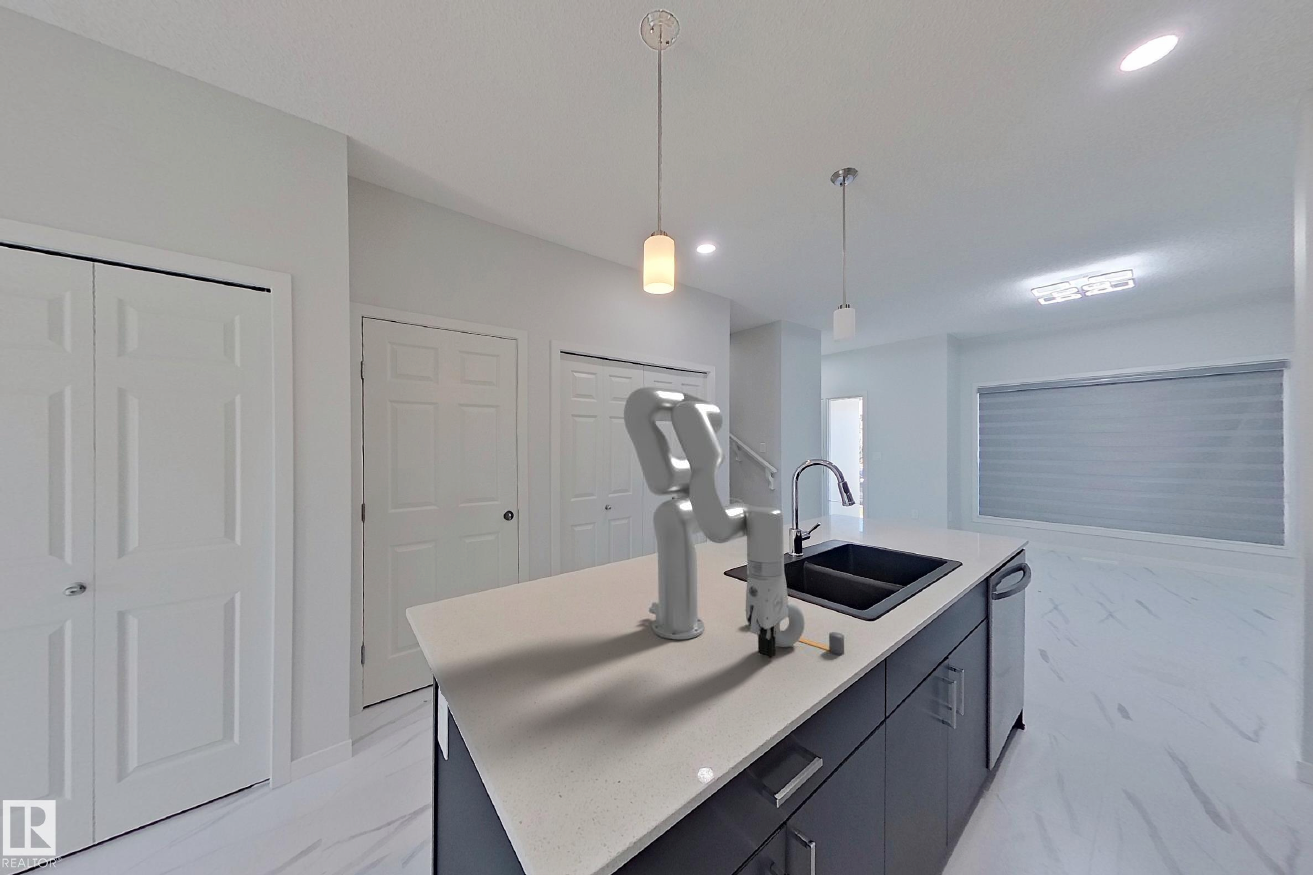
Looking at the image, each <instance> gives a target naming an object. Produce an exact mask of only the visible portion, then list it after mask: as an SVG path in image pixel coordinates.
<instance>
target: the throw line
mask: <svg viewBox="0 0 1313 875" xmlns="http://www.w3.org/2000/svg"><path fill="white" fill-rule="evenodd" d="M748 626H749V627H750V628H751V624H749V623H748ZM828 637H829V638H828V643H829V644H828V645H824V644H822V643H818V642H816V641H812V640H809V639H806V638H803V637H800V638H799V640H798V641H797V642H800V643H804V644H807V645H811V646H813V647H816V648H819V649H822V650H825V651H829V653H832V654H833V655H836V656H841V655H842V656H843V655H844V654H845V636H844V634H843V633H841V632H837V631H836V632H835V631H832V632H829V633H828Z"/></svg>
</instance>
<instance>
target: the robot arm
mask: <svg viewBox="0 0 1313 875" xmlns="http://www.w3.org/2000/svg"><path fill="white" fill-rule="evenodd" d="M623 420H624V421H623V422H624V425H625V429H626V432H627V433H628V435H629V438H630V440H631V442H632V444H633V446H634V447H633V448H634V449H635V452H636V457H637V459H638V462H639V464H640V468H641V471H642V473H643V476H644V480H645V483H646V485H647V487H648V490H649V491H650V492H651V493H652V494H654V495H655V496H660V497H661V496H672V495H676V497H677V498H672V499H667V500H666V501H664V502H662V503H660V504H659V505H658V506H657V507H656V509H655V511H654V512H653V513H654V514H653V517H652V518H653V520H652V521H653V522H652V523H653V527H654V528H653V529H654V534H655V538H656V547H657V550H656V551H657V577H658V578H657V579H658V580H657V588H658V589H657V590H658V592H657V593H658V598H657V599H658V600H657V601H658V602H656V601H653V602H652V604H651V607H649V608H648V612H649V613H650V614H652V615H655V619H654V620H653V622H652V626H651V627H652V628H651V629H652V631H653V632H654V633H655V634H656V635H658V636H659V637H661V638H665V639H669V640H688V639H693V638H696V637H699V636H700V635H701V634H703V632H704V631H705V622H704V621H703V620H702V619H701V618H699V615H698V614H699V613H698V610H699V609H698V607H699V606H698V558H697V550H696V547H695V544H694V541H693V539H692V538H693V537H692V536H694V535H696V534H699V533H702V534H703V535H704V536H705V537H706V539H708V540H709V541H710V542H712V543H713V544H714V543H715V544H726V543H729V542H732V541H734V540H737V539H741V538H744V537H746V566H747V567H746V572H747V579H746V580H747V581H746V592H745V618H746V622H747V624H748V625H749V624H751V627H750V629H749V632H750V633H751V634H754V635H756V636H757V647H758V648H757V649H758V651H757V652H758V654H759V655H761V656H764V657H767V658H769V659H770V658H771V659H772V658H773V657H775V656H776V654H777V652H776V650H777V649H776V647H777V646H776V642H775V635H776V633H777V624H778V623H779V622H780V621H781V622H782V621H784V620H785V619H786V618H788V617H787V616H788V601H789V598H788V587H787V580H786V575H785V563H784V562H785V559H784V558H785V557H784V555H785V554H784V548H785V547H784V517H783V513H782V511H781V510H780V509H778V508H775V507H768V506H764V507H763V506H754V505H750V504H746V503H743V502H742V503H741V502H735V503H734V502H733V503H730V504H723V503H722V500H721V498H720V495H719V493H718V489H717V480H716V479H717V475H718V471H719V469H720V468H721V466H722V465H723V463H724V462H725V460H726V455H725V453H724V449H722V446H721V443H720V441H719V439H718V437H717V433H718V432H719V431H720V430H721V429H722V425H723V414H722V412H721V410H720V409H719V407H718V406H717V405H715V404H714V403H712V402H711V401H707V400H704V399H702V398H699V397H697V396H694V395H692V394H689V393H687V392H683V391H682V390H677V389H672V388H671V389H670V388H662V387H655V386H654V387H652V386H651V387H650V386H646V387H640V388H637V389H635V390H634V391H632V392H631V393H630V394H629V396H628V397H627V399H626V401H625V405H624V409H623ZM657 422H670V423H671V425H672V427H673V429H674V431H675V434H676V437H677V440H678V441H679V444H680V446H681V449H682V451H683V454H684V456H674V454H673V452H672V450H671V447H670V444H669V441H668V438H667V437H666V435H665V433H664V432H663V431H662V430H661V428H659V426H658V425H657ZM781 622H780V623H781Z"/></svg>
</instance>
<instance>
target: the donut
mask: <svg viewBox="0 0 1313 875" xmlns="http://www.w3.org/2000/svg"><path fill="white" fill-rule="evenodd" d="M786 618H788V625H787V627H786V628H785V629H784V630H781V628H780V627H781V626H780V624H781V622H782V621H780V622H779V623H778V624H777V633H776V635H775V642H776V647H779V648H788V647H791V646H793V645H795V644H796V643H797V642H799V641H798V640H799V638H802V636H803V633H804V630H805V616H804V613H803V611H802V610H801V608H800V607H799V605H798V604H796V603H794V602H792V601H791V600H788V616H787V617H786Z"/></svg>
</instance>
